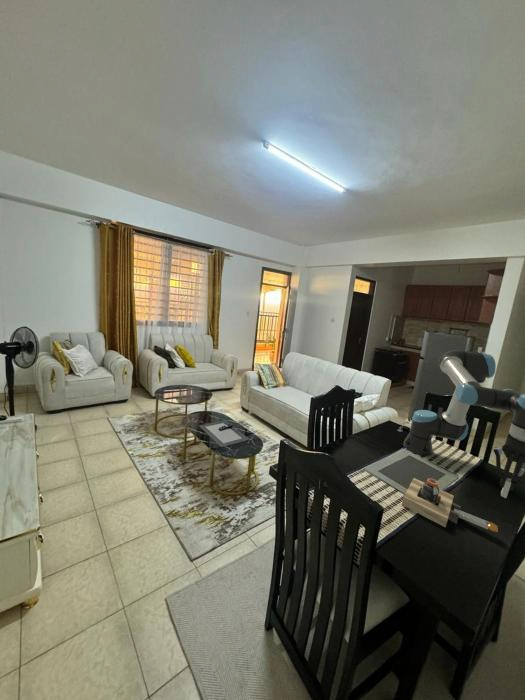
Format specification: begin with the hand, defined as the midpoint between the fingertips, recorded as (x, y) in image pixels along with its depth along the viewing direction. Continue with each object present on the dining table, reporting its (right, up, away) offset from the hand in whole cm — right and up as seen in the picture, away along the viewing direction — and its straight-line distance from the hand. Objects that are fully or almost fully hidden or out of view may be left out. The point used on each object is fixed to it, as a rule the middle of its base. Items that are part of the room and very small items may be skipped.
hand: (503, 495), depth 103 cm
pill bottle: (-18, -13, +17) cm, 28 cm away
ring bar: (-11, -12, +10) cm, 19 cm away
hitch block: (-17, -13, +16) cm, 27 cm away
